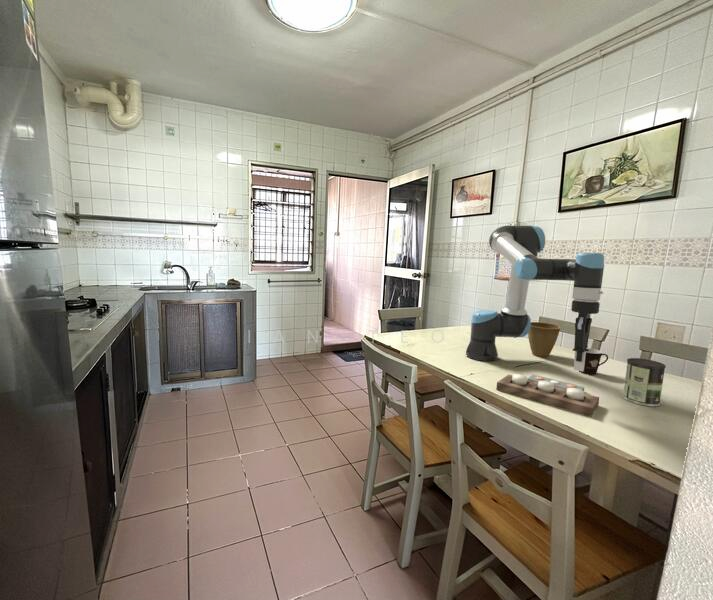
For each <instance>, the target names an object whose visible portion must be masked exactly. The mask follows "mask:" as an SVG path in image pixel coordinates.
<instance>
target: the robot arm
mask: <svg viewBox="0 0 713 600" xmlns="http://www.w3.org/2000/svg"><path fill="white" fill-rule="evenodd" d="M488 244H489V247H490V249H491V250H492V251H493V252H494V253H496V254H500V255H501V256H502V257H504V258H505V259H506V260H507V261H508V262H509V263H510V264H511V266H510V271H509V272H510V273H509V278H508V286H507V293H506V298H505V306H503V307H502V308H501V311H500V313H498V311H497V310H493V309H483V310H481V309H480V310H477V311H474V312H473V313H472V316H471V325H470V327H471V328H470V339H469V343H468V346H467V348H466V350H465V356H466V355H467V356H468V357H467V356H466V357H467V358H469V357H470V358H469V359H471V358H473V359H472V360H475V359H477V360H476V361H480V360H483V362H495V361H497V360H498V359H499V353H498V349H497V345H496V339H497V338H514V339H515V338H525V336H528V332H529V330H530V327H531V322H532V320H531V317H530V315H529V314H528V311H527V310H526V308H525V307H526V302H527V296H528V291H529V285H530V284H529V283H530V281H568V282H569V281H571V282H573V287H572V289H573V290H572V294H571V295H572V299H573V300H572V301H571V309H570V310H571V312H573V313H578V314H577V315H578V316H577V317H576V318H575V323H574V347H573V348H572V351H573V352H574V360H573V370H574V371H577V372H579V371H582V372H583V371H584V365H585V355H586V352H585V351H589V349H586V348H589V346H588V345H589V338H590V332H591V326H592V323H593V318H591V315H594V314H595V315H597V314H598V313H600V305H601V302H599V301H600V300H601V295H603V294H604V291H602V285H603V278H604V277H603V276H604V272H605V270H604V269H605V255H604V254H603V253H602V252H601V253H600V252H579V253H578V254H576V258H539V257H538V253H540V252H542V251H543V250H544V248H545V245H546V235H545V232H544V230H543V229H542V227H540V226H535V225H509V224H507V225H502V226H499V227H497V228H496V229H494V230H493V231H492V232H491V234H490V236H489V239H488ZM494 360H495V361H494Z"/></svg>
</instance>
